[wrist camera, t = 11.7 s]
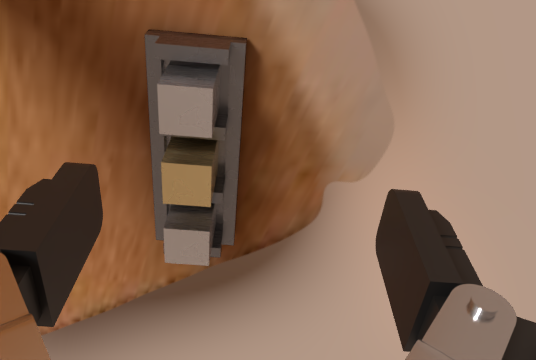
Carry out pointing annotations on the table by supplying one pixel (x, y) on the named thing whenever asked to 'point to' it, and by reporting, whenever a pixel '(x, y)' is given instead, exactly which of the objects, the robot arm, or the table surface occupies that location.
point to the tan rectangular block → (189, 171)
